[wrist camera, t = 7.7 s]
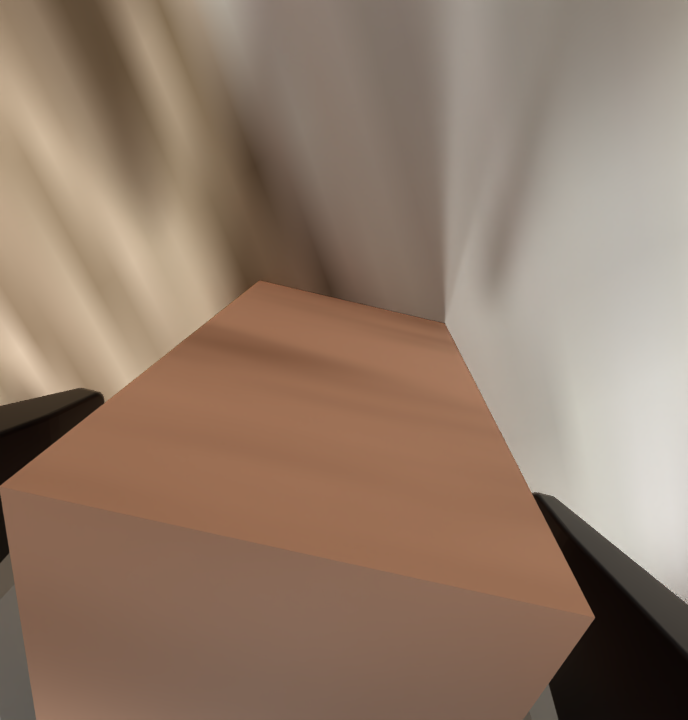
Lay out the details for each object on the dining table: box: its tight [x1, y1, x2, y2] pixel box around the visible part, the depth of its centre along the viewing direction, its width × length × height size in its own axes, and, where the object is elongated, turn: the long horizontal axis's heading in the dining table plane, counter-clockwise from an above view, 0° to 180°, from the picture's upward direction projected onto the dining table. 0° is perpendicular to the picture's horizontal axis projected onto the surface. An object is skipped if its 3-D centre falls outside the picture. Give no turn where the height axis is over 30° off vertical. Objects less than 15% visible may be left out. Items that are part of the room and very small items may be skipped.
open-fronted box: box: [0, 553, 558, 720], centre depth 15 cm, size 11×17×4 cm, turn 78°
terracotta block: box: [0, 280, 595, 720], centre depth 8 cm, size 5×5×8 cm
